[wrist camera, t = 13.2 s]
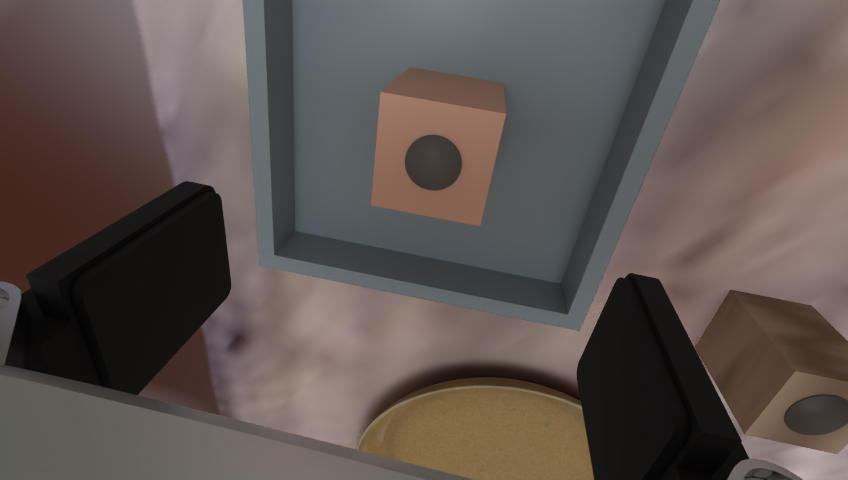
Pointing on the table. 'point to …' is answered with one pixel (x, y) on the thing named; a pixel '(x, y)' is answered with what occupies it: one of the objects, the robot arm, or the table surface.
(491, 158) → the terracotta block
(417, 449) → the plant saucer
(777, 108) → the table surface
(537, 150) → the tray
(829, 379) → the walnut block
